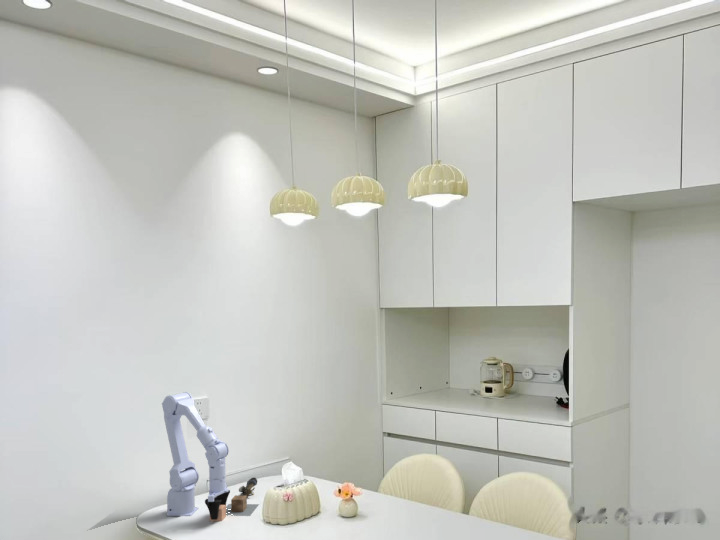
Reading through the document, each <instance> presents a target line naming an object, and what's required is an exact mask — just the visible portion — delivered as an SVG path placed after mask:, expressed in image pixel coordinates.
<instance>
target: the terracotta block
mask: <svg viewBox="0 0 720 540" xmlns="http://www.w3.org/2000/svg"><path fill="white" fill-rule="evenodd" d="M226 506H227V504H226V505H220V506H219V512H218V518H217V520H211V517H210V516H209V521H210V522H223V521H224V519H226V518H227V516H226Z"/></svg>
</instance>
